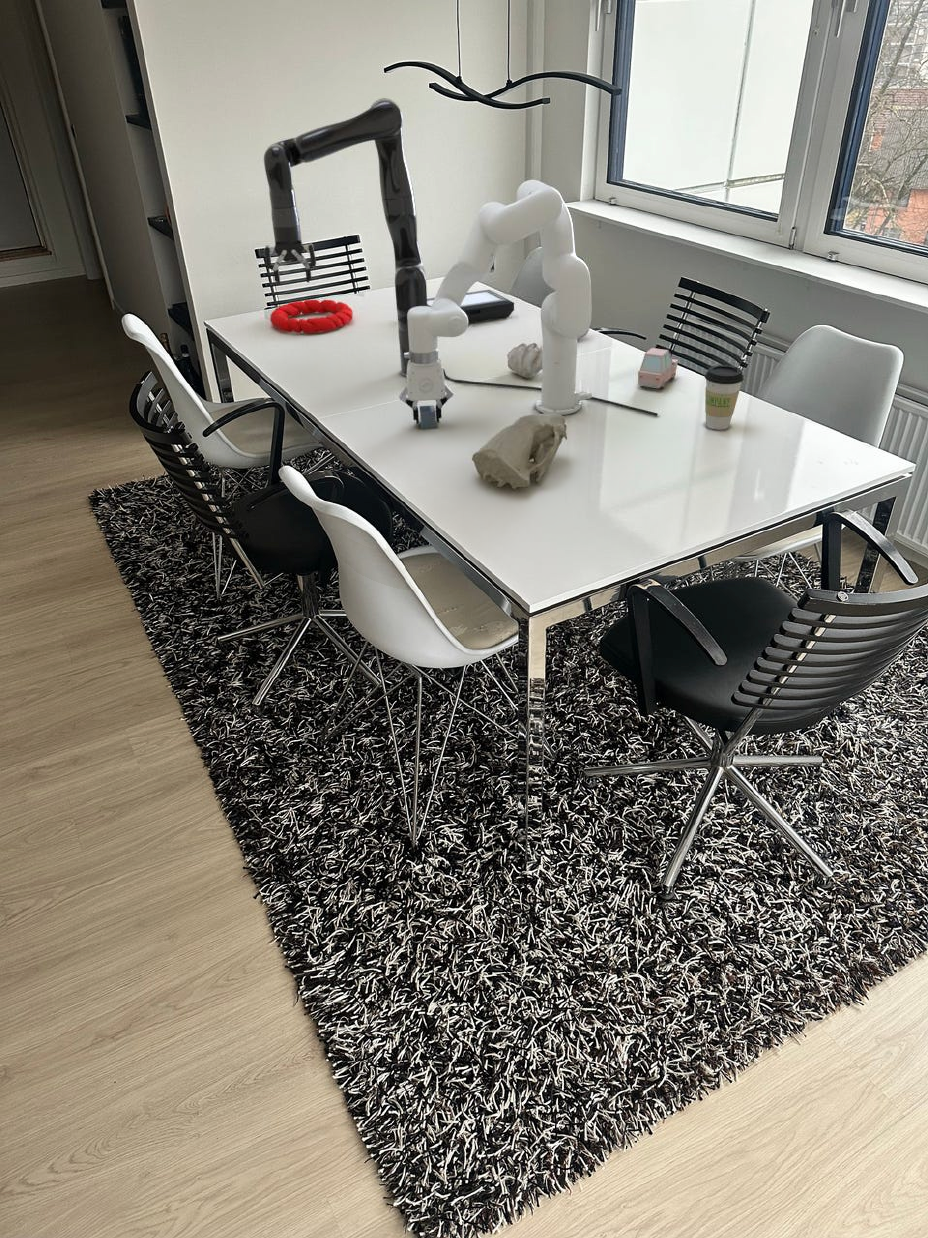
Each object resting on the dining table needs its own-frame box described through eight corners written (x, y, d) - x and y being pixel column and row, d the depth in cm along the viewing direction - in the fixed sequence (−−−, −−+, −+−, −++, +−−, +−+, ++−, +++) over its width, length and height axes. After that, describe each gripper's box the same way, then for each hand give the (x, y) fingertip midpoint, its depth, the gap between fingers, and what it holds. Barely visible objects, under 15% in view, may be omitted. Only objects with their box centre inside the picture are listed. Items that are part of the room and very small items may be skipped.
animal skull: (489, 499, 227) (452, 459, 211) (541, 418, 229) (509, 372, 213) (540, 522, 217) (505, 481, 201) (594, 437, 219) (564, 390, 203)
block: (420, 422, 247) (419, 405, 245) (434, 421, 248) (434, 405, 245) (421, 428, 244) (420, 412, 241) (436, 427, 244) (435, 411, 241)
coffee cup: (691, 421, 242) (698, 367, 233) (722, 415, 245) (730, 362, 236) (712, 434, 234) (719, 379, 226) (743, 428, 237) (752, 373, 228)
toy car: (680, 376, 271) (684, 343, 265) (662, 392, 260) (666, 358, 255) (651, 371, 275) (654, 339, 269) (632, 387, 264) (635, 354, 259)
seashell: (522, 385, 268) (523, 352, 263) (503, 370, 280) (503, 338, 274) (553, 380, 271) (554, 348, 266) (533, 365, 283) (533, 334, 277)
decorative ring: (264, 303, 335) (273, 317, 310) (343, 294, 342) (358, 307, 317) (267, 323, 338) (277, 338, 313) (345, 314, 345) (360, 328, 320)
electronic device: (433, 312, 313) (412, 299, 328) (434, 330, 317) (413, 316, 332) (514, 300, 323) (490, 287, 338) (514, 317, 327) (490, 304, 342)
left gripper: (259, 227, 249) (268, 287, 258) (310, 224, 250) (317, 284, 259) (261, 222, 255) (270, 280, 265) (311, 219, 256) (318, 278, 266)
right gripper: (392, 362, 231) (397, 428, 241) (457, 358, 232) (459, 424, 243) (391, 353, 237) (396, 418, 248) (454, 349, 238) (457, 414, 249)
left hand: (293, 282), depth 262 cm, fingers open, 8 cm apart
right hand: (427, 420), depth 245 cm, fingers open, 5 cm apart
